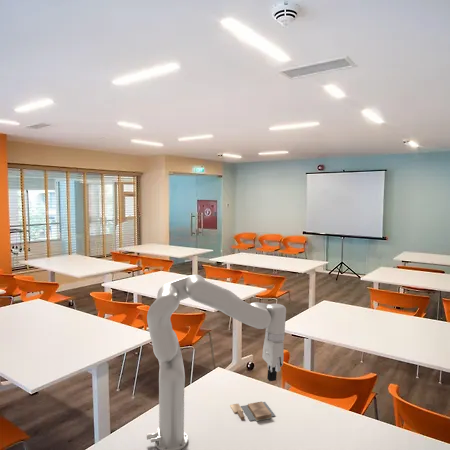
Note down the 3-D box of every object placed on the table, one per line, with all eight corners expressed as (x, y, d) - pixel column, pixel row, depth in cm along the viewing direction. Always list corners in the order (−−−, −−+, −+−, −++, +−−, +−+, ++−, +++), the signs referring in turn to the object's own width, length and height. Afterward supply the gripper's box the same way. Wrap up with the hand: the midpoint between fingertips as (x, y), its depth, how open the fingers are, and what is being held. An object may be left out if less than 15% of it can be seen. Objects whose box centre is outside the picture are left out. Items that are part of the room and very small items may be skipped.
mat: (249, 421, 153) (250, 420, 153) (240, 406, 163) (240, 406, 163) (275, 416, 157) (275, 415, 157) (265, 402, 167) (265, 401, 167)
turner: (238, 420, 153) (238, 417, 153) (230, 406, 164) (230, 403, 164) (247, 418, 155) (247, 415, 155) (238, 404, 165) (238, 402, 165)
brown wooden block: (256, 416, 153) (247, 403, 162) (256, 421, 153) (247, 407, 162) (271, 414, 155) (262, 401, 164) (271, 418, 155) (261, 405, 164)
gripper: (258, 329, 149) (255, 372, 150) (274, 343, 135) (271, 390, 136) (274, 328, 151) (272, 370, 153) (292, 342, 137) (289, 388, 139)
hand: (271, 379), depth 144 cm, fingers closed
